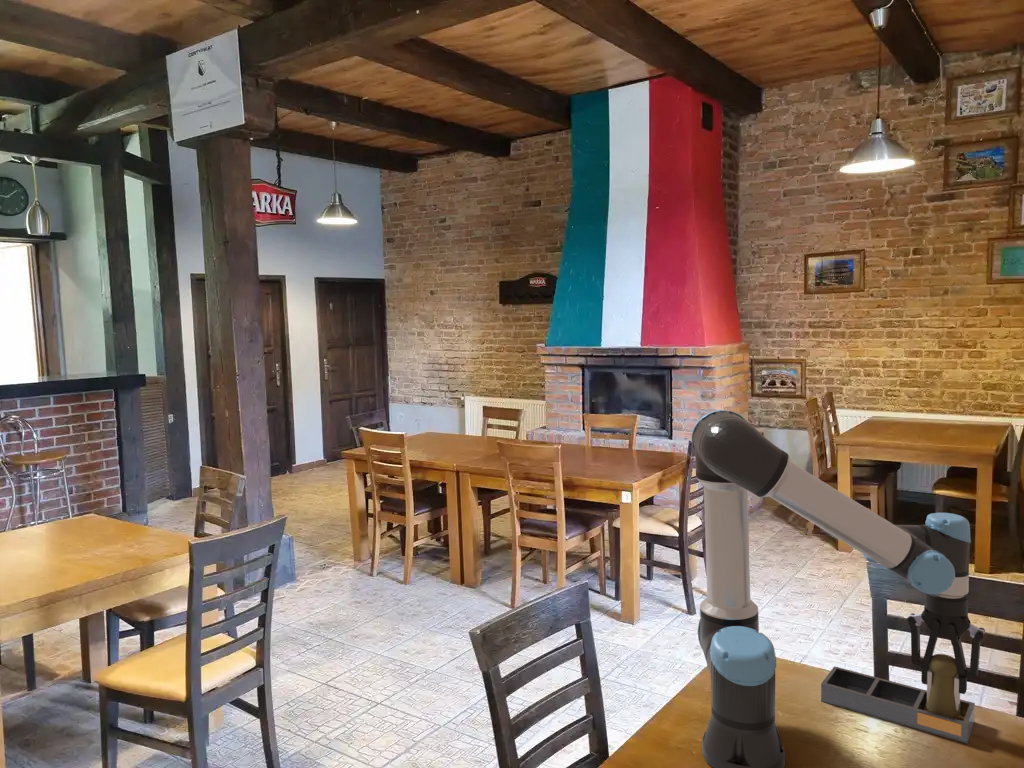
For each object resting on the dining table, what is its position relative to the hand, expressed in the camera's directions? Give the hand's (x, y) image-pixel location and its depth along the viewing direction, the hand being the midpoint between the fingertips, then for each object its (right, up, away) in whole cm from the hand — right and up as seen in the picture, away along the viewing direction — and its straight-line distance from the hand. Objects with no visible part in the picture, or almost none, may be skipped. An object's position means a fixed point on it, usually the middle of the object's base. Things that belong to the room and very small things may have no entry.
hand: (943, 703), depth 149 cm
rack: (-7, -4, +6) cm, 10 cm away
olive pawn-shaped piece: (0, -1, 0) cm, 1 cm away
